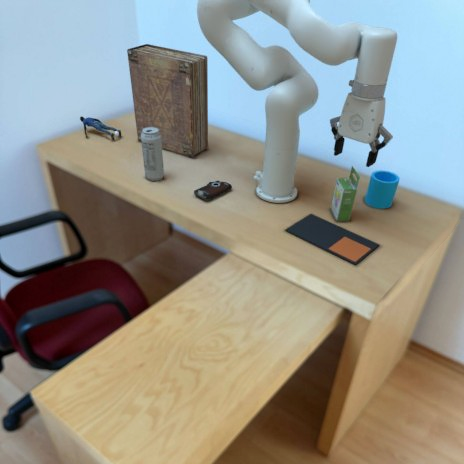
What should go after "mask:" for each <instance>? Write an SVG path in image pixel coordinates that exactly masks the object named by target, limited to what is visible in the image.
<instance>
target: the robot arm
mask: <svg viewBox="0 0 464 464" xmlns="http://www.w3.org/2000/svg"><path fill="white" fill-rule="evenodd" d="M310 2H311V0H197V3H196V16H197V22H198V25H199V28H200V30H201V33H202V34H203V36H204V38H205V39H206V41H207V42H208V43H209V44H210V46H212V47H213V49H214V50H215V51H216V52H217V53H218V54H220V55H221V56H222V57H223V58H224V59H225V60H226V62H227V63H228V64H229V65H230V67H231V68H232V69H233V70H234V71H235V72H236V73H237V74H238V76H240V78H241V79H242V80H243V81H244V82H245V84H247V85H248V86H249V87H250V88H251V89H252V90H254V91H257V92H259V91H260V92H261V91H265V90H267V89H269V88H271V89H270V90H269V92H268V93H267V95H266V98H265V101H264V102H265V103H264V110H265V111H264V112H265V140H264V153H263V154H264V155H263V166H262V171H260V170H256V171H255V173H254V175H253V177H252V178H253V180H254V181H256V182H258V184H257V186H256V189H255V190H256V191H255V193H256V195H257V196H258V197H259V198H260V199H261V200H263V201H266V202H270V203H275V204H283V203H284V204H285V203H289V202H291V201H293V200H295V199H296V198H297V196H298V188H296V187H295V186H294V181H295V175H296V166H297V160H298V152H299V147H300V145H299V144H300V135H301V134H300V133H301V130H300V116H302V115H304V114H305V113H306V112H309V111H310V110H311V109H313V108H314V107H315V105H316V104H317V102H318V99H319V86H318V85H317V84H318V83H317V81H315V79H314V77H313V76H312V75H311V73H309V72H308V71H307V69H306V68H305V67H304V66H303V65H302V63H300V62H299V61H298V59H296V57H295V56H294V55H293V54H292V53H291V52H290V50H288V49H286V48H285V47H283V46H280V45H277V44H275V45H274V44H273V45H270V46H266V47H263V46H261V45H260V44H259V43H258V42H257V41H256V40H255V39H254V38H253V37H252V35H250V33H249V32H247V30H246V29H244V28H242V27H241V26H239V25H238V24H236V23H235V22H234V21H236V20H241V19H244V18H247V17H249V16H252V15H254V14H256V13H259V12H261V13H263V14H265V15H266V16H268V17H269V18H270V19H272V20H273V21H275V22H276V23H278V24H279V25H281V26H282V27H283V28H285V29H287V31H288V33H289V35H290V36H291V38H292V39H293V40H294V42H295V43H296V44H297V46H298V47H299V48H301V49H302V50H303V51H304V52H306V53H307V54H309V55H310V56H312V57H313V58H314V59H316V60H317V61H319V62H320V63H323V64H325V65H327V66H332V67H335V66H339V65H342V64H344V63H346V62H348V61H352V60H356V59H357V63H356V68H355V74H354V78H353V79H350V80H349V81H348V86H349V87H351V91H350V92H348V93H347V96H346V98H345V100H344V104H343V106H342V110H341V112H340V113H341V114H340V115H338V116H336V117H332V118H330V119H329V124H330V127H331V133H332V135H333V139H334V140H335V141H334V147H333V151H334V152H333V156H335V157H336V156H339V155H340V154H342V153H343V151H344V150H343V149H344V145H345V138H346V139H350V140H353V141H356V142H359V143H363V144H367V145H369V147H370V150H369V152H368V155H367V159H366V163H365V167H367V168H369V167H371V166H373V165H374V164H376V162H377V159H378V155H379V151H380V150H381V149H383V148H385V147H386V146H388V144H390V142H391V141H392V139H393V138H394V136H393V134H391V132H390V131H389V130H388V129H387V128H386V127H385V126H384V120H385V113H386V97H384V96H385V93H386V88H387V85H388V84H387V83H388V80H389V76H390V72H391V67H392V63H393V58H394V54H395V50H396V46H397V42H398V33H397V31H396V30H394V29H392V28H389V27H381V26H371V25H367V24H364V23H361V22H359V21H347V22H344V23H341V24H337V25H334V24H332V23H331V22H330V21H328V20H326V19H325V18H323V17H322V16H320V15H319V14H318V13H317V12H316V11H315V10H314V9H313V8H312V7H311V5H310ZM381 136H382V137H383V140H382V141H380V140H379V139H380V138H381Z"/></svg>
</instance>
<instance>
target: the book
mask: <svg viewBox="0 0 464 464" xmlns="http://www.w3.org/2000/svg"><path fill="white" fill-rule="evenodd" d="M126 53H127V60H128V68H129V76H130V85H131V86H130V87H131V92H132V93H131V94H132V102H133V110H134V119H135V126H136V134H137V141H138V142H140V143H141V134H142V130H143V129H144V128H147V127H155V128H157V129H158V130H159V133H160V134H161V142H162V150H165V151H168V152H172V153H175V154H177V155H181V156H183V157H187V158H190V159H194V158H195V155H197V154H199V153H201V152H202V151H207V150H208V149H209V109H208V108H209V98H208V97H209V92H208V91H209V89H208V88H209V87H208V86H209V85H208V79H209V78H208V76H209V75H208V55H204V54H200V53H194V52H191V51H184V50H179V49H175V48H170V47H164V46H160V45H159V46H158V45H154V44H150V43H146V44H142V45H138V46H134V47H131V48H127V50H126Z"/></svg>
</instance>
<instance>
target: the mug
mask: <svg viewBox="0 0 464 464" xmlns="http://www.w3.org/2000/svg"><path fill="white" fill-rule="evenodd" d="M400 179H401V178H400V176H399V175H398V174H397V173H394V172H392V171H389V170H381V169H380V170H375V171H373V172H371V174H370V178H369V182H368V184H367V185H368V186H367V189H366V193H365V196H364V202H365V204H366V205H368V206H369V207H372V208H374V209H380V210H381V209H388V208H391V207H392V205H393V202H394V199H395V196H396V192H397V189H398V186H399V182H400Z"/></svg>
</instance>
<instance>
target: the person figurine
mask: <svg viewBox="0 0 464 464" xmlns="http://www.w3.org/2000/svg"><path fill="white" fill-rule="evenodd" d="M79 121H80V122H82V124H83V129H84V135H85V137H86V138H88V134H87V127H89V128H90V127H91V128H94V130H96V131H98V132H101V133H104V134H106V135H108V136H110V138H111V141H112V142H113V141H115V136H116V137H118V138H121V137H122V130H121V129H117V128H115V127H113V126H108V125H106V124H104V123H103V122H102V121H101V120H99V119H98V118H95V117H84V116H80V117H79ZM111 131H112V132H111Z"/></svg>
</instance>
